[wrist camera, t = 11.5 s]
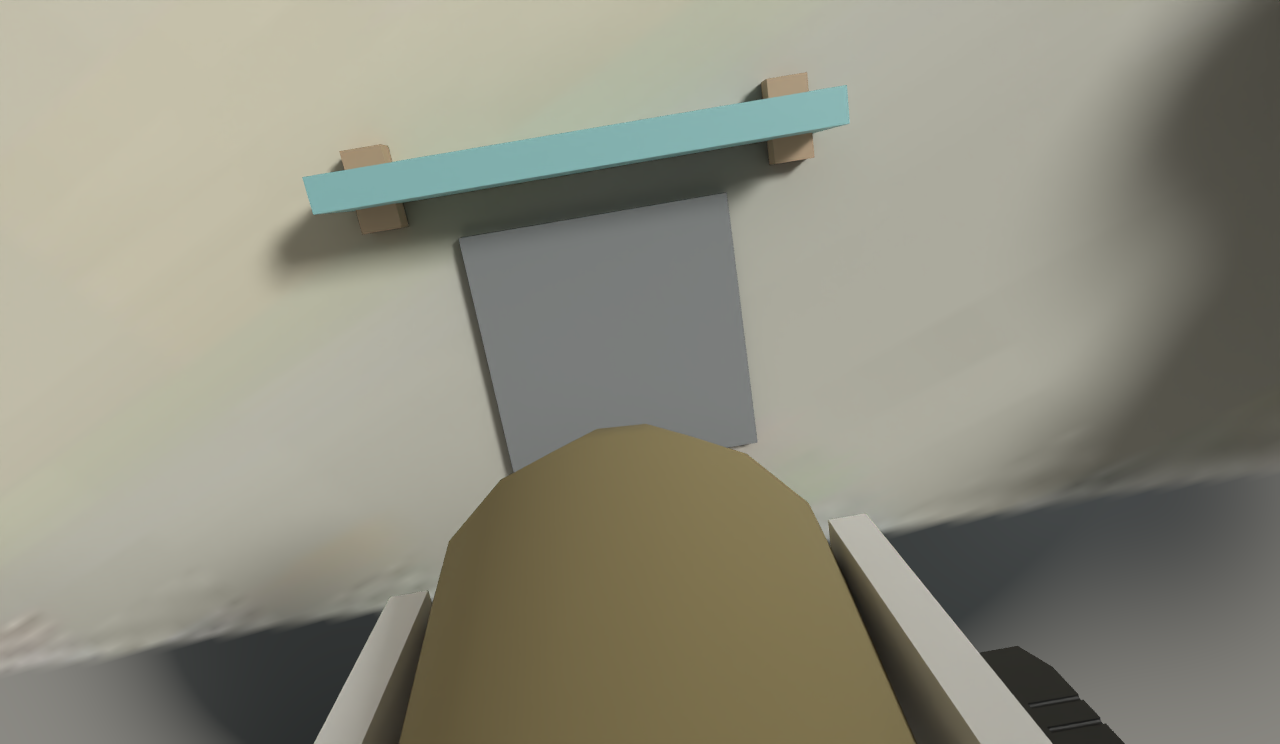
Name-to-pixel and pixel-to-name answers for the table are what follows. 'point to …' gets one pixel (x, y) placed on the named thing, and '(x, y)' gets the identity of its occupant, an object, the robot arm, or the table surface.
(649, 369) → the mat
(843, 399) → the table surface
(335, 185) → the fence
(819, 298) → the table surface
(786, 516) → the squeeze bottle
